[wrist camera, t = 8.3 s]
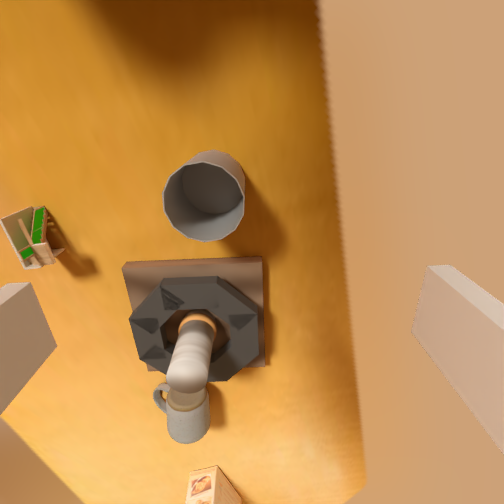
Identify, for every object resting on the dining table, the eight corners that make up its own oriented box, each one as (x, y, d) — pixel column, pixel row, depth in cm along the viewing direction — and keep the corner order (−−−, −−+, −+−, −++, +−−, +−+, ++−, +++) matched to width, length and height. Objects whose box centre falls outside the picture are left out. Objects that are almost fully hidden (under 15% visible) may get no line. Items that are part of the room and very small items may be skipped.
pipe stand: (126, 261, 44) (81, 316, 32) (261, 256, 43) (266, 308, 32) (151, 362, 52) (123, 434, 40) (264, 357, 52) (269, 429, 40)
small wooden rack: (59, 202, 40) (17, 221, 33) (78, 247, 43) (43, 274, 36) (31, 205, 40) (-16, 225, 33) (52, 250, 43) (12, 277, 36)
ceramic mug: (210, 374, 53) (204, 413, 47) (212, 405, 57) (207, 445, 50) (152, 374, 54) (137, 412, 47) (158, 404, 57) (145, 445, 50)
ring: (125, 279, 41) (119, 286, 39) (255, 273, 41) (256, 281, 39) (150, 374, 48) (146, 384, 47) (259, 370, 48) (260, 379, 46)
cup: (258, 180, 39) (261, 200, 30) (219, 225, 41) (211, 256, 32) (207, 135, 36) (194, 142, 27) (169, 185, 39) (145, 207, 30)
